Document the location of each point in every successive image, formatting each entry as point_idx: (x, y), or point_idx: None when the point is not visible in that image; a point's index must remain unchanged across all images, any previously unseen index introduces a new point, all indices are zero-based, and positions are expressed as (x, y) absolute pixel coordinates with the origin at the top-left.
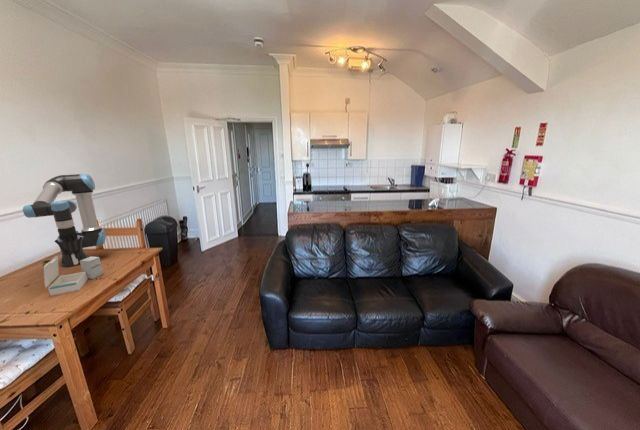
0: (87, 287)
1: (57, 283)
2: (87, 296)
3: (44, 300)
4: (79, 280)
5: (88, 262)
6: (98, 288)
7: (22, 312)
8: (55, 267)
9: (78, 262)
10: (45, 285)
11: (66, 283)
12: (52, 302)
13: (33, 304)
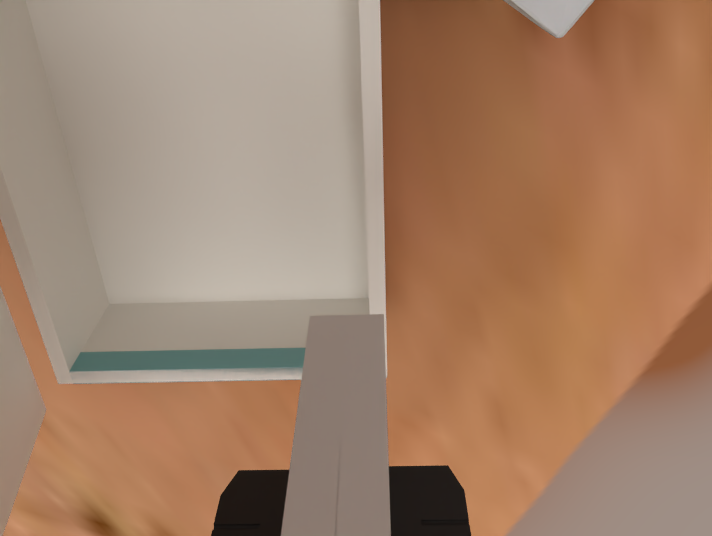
0: (457, 258)
1: (26, 130)
2: (508, 464)
3: None
4: (385, 292)
5: (537, 24)
6: (591, 341)
7: (50, 510)
8: None
9: (383, 316)
10: (32, 438)
11: (100, 4)
12: (214, 448)
13: None
